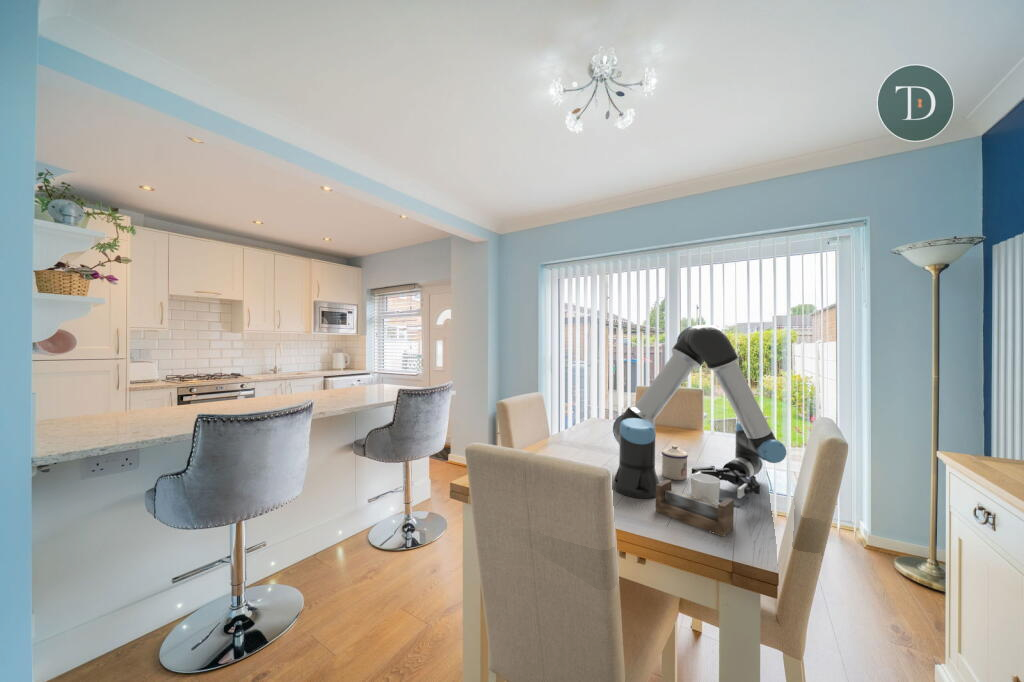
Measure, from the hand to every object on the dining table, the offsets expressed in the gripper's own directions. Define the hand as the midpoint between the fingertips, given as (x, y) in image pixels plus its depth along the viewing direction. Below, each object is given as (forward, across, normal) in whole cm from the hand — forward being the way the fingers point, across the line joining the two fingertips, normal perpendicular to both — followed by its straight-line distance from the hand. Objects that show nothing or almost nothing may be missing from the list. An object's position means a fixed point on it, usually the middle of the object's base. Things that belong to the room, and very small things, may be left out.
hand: (714, 486), depth 116 cm
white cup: (+5, +1, -7) cm, 8 cm away
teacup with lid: (-18, +21, -6) cm, 28 cm away
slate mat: (-10, +1, -6) cm, 12 cm away
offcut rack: (+13, +1, -6) cm, 15 cm away
